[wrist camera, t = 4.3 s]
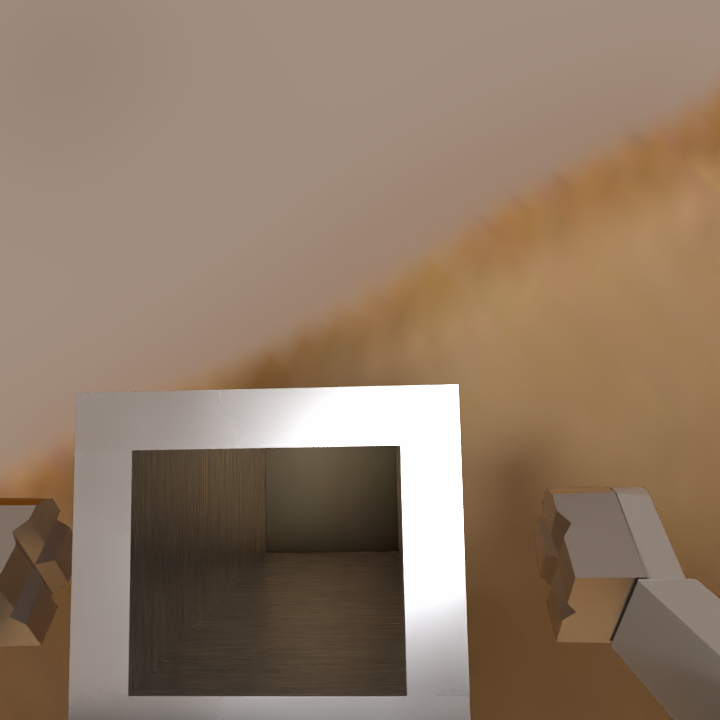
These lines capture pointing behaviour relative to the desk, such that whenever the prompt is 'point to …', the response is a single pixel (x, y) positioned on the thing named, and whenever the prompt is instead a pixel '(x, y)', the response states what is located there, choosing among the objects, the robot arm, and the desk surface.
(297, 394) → the grey hollow box
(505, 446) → the desk surface
